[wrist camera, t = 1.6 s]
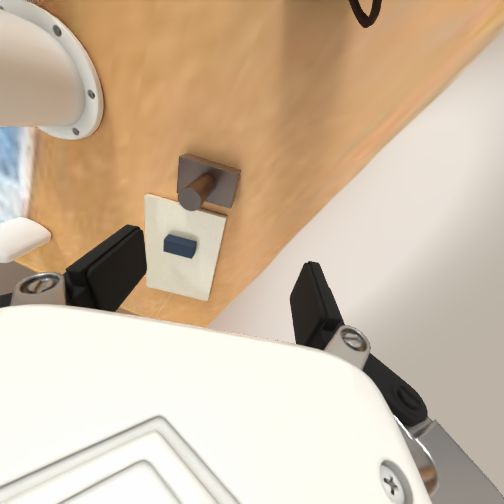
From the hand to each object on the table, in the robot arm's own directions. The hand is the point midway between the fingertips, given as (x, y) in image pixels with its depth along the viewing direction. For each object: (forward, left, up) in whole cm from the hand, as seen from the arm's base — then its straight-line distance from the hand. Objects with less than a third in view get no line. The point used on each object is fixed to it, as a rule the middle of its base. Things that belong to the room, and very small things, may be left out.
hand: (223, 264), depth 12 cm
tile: (-9, -17, -21) cm, 28 cm away
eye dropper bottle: (-36, -20, -21) cm, 46 cm away
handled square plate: (-6, -2, -21) cm, 22 cm away
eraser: (-9, -14, -20) cm, 26 cm away
